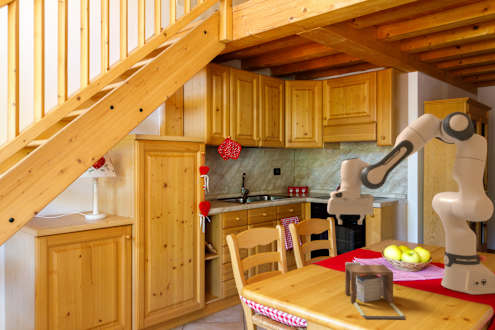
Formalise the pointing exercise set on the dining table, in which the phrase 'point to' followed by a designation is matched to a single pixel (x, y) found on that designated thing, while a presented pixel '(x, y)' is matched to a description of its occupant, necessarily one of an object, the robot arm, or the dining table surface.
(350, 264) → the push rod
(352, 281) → the tunnel
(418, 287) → the dining table surface
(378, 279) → the medicine box
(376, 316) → the dark grey bar
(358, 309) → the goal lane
